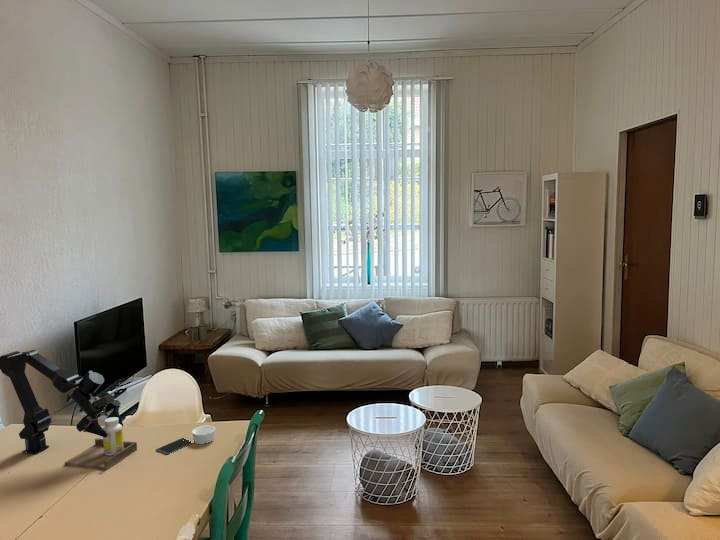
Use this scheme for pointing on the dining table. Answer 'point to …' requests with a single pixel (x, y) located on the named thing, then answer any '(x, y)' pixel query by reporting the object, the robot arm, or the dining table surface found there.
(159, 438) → the dining table surface
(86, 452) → the dock board
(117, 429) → the supplement bottle
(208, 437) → the ramekin
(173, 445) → the cell phone
